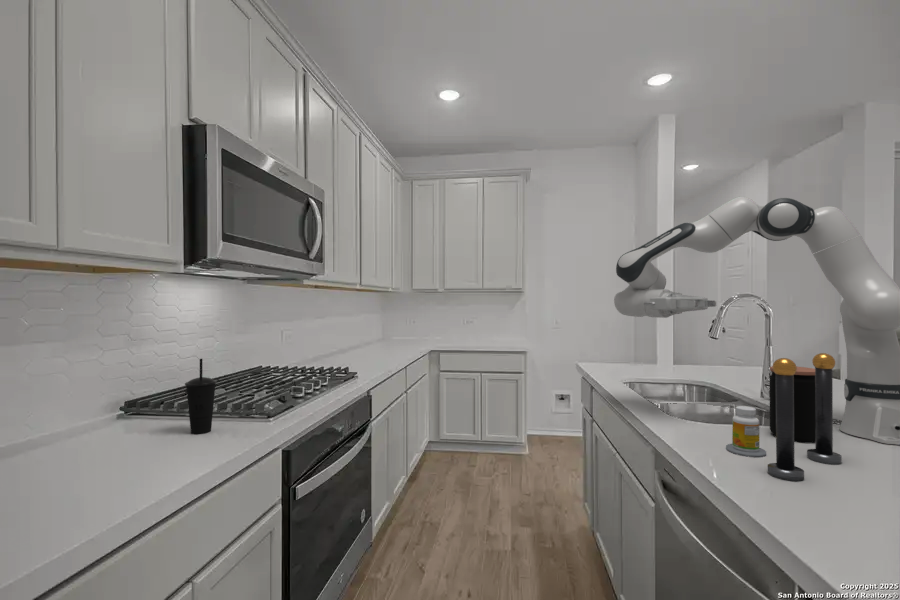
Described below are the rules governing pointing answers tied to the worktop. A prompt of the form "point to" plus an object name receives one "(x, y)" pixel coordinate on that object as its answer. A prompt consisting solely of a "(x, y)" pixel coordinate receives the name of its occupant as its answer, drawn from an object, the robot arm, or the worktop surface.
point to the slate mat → (743, 453)
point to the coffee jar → (798, 404)
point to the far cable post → (824, 412)
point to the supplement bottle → (745, 429)
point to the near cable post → (785, 423)
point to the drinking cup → (200, 403)
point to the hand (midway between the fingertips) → (705, 303)
